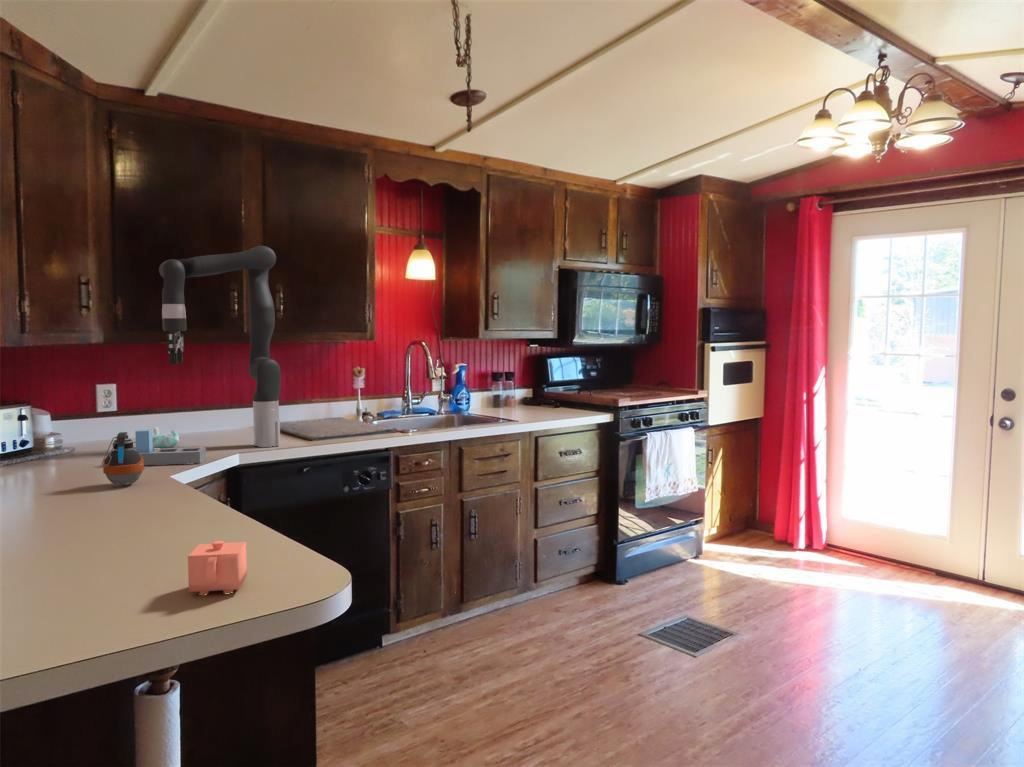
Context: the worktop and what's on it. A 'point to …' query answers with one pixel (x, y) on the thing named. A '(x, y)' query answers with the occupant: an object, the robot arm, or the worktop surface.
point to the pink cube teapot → (217, 567)
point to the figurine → (164, 439)
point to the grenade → (123, 462)
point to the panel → (174, 456)
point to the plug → (144, 441)
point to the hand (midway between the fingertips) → (176, 363)
